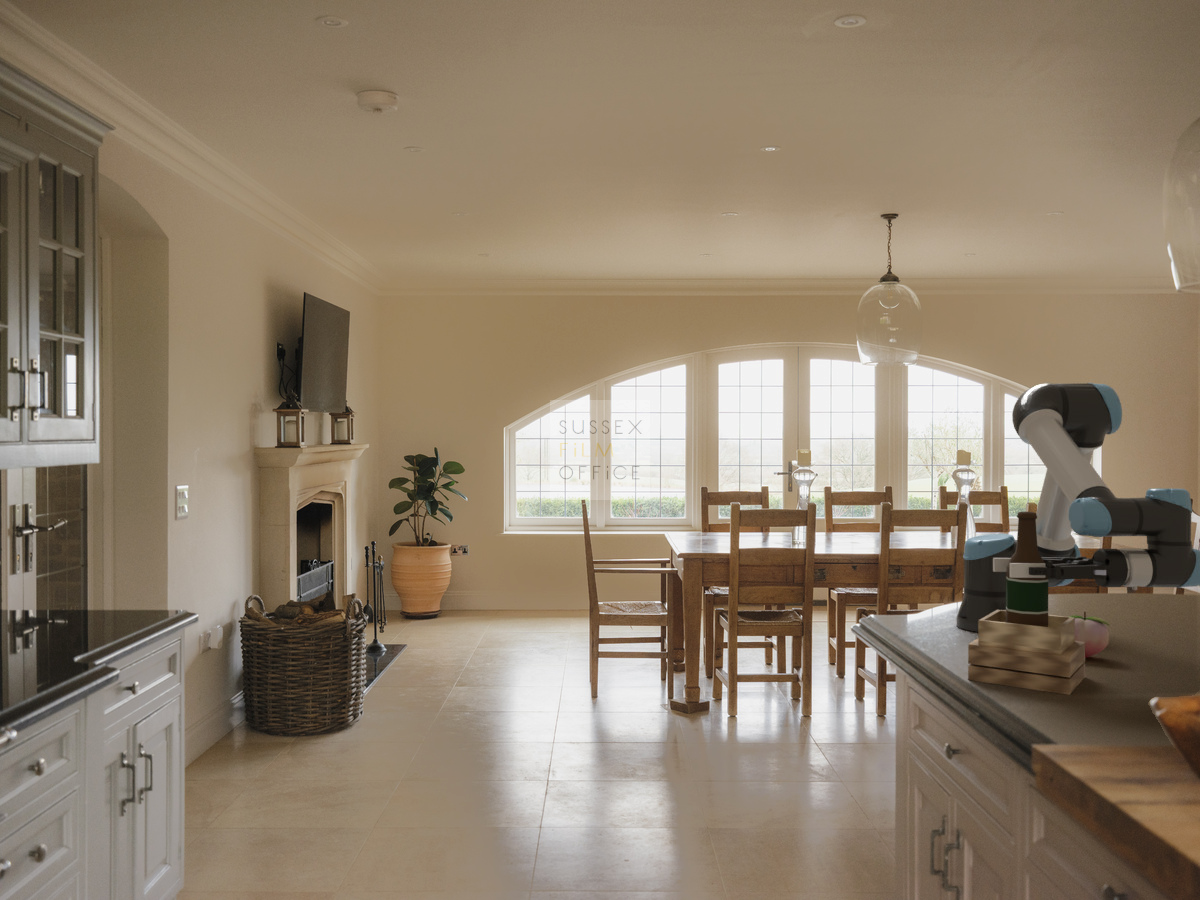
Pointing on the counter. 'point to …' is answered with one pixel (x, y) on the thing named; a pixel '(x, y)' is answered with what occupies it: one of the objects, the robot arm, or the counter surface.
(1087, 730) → the counter surface
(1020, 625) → the top crate
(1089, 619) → the decorative fruit
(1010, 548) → the robot arm
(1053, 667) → the base crate
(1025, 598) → the beer bottle
